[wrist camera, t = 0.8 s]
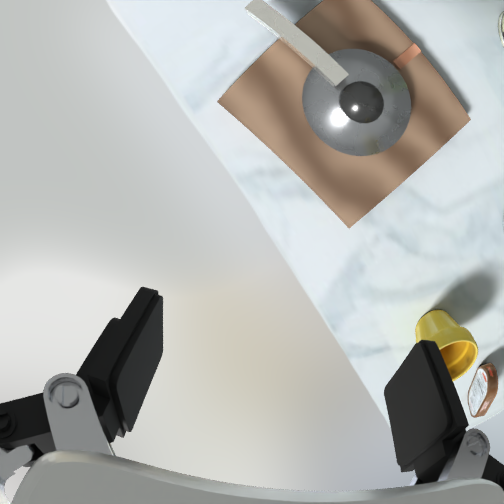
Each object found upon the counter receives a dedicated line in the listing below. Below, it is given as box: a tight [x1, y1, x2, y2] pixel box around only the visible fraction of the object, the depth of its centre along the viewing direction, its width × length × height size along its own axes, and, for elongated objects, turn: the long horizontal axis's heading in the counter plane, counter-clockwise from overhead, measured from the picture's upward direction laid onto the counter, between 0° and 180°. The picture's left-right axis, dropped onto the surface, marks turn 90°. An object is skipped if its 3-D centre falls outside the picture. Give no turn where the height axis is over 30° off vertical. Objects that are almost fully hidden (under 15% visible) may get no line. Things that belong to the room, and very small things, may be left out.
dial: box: [245, 0, 411, 156], centre depth 27 cm, size 21×12×4 cm, turn 48°
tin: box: [468, 363, 498, 417], centre depth 47 cm, size 15×3×8 cm, turn 14°
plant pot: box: [415, 310, 478, 381], centre depth 41 cm, size 10×10×10 cm
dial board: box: [217, 0, 471, 228], centre depth 31 cm, size 22×22×2 cm
